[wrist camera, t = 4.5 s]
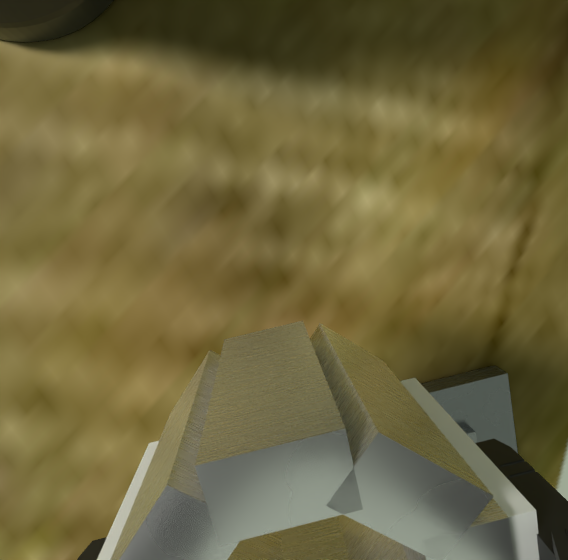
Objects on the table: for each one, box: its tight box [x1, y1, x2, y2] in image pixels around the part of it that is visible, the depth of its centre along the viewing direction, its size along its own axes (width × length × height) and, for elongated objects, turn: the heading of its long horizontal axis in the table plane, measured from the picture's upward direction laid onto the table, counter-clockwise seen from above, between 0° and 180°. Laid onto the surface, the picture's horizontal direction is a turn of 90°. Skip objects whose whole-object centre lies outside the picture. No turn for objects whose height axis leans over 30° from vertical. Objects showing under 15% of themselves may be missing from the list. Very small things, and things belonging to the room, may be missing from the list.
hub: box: [110, 321, 514, 560], centre depth 12 cm, size 9×9×7 cm
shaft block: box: [421, 365, 518, 453], centre depth 26 cm, size 12×12×8 cm
